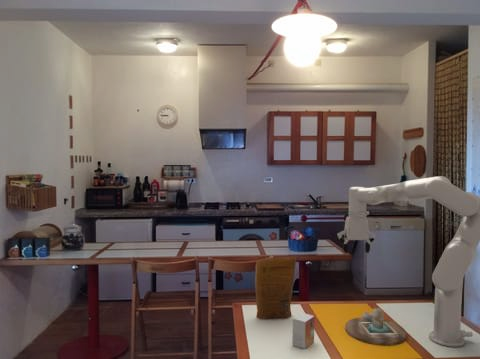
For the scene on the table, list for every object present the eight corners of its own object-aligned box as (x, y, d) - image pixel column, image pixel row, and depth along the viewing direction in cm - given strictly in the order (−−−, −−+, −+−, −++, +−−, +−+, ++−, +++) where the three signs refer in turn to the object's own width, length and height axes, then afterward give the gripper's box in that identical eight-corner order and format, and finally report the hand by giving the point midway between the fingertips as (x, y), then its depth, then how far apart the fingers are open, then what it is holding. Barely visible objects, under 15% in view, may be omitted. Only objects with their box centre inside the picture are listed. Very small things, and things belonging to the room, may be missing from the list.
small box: (304, 349, 153) (305, 322, 152) (291, 345, 156) (292, 318, 156) (314, 342, 159) (315, 315, 159) (302, 338, 163) (302, 312, 162)
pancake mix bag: (297, 319, 181) (298, 257, 180) (255, 321, 179) (256, 258, 177) (293, 313, 188) (294, 254, 187) (252, 315, 185) (253, 255, 184)
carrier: (391, 320, 181) (391, 310, 181) (416, 344, 157) (417, 333, 157) (338, 320, 180) (338, 310, 180) (355, 345, 156) (356, 334, 156)
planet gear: (383, 327, 170) (384, 306, 169) (390, 335, 162) (391, 313, 162) (365, 327, 170) (365, 306, 169) (371, 335, 162) (372, 313, 161)
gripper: (373, 213, 184) (372, 250, 185) (335, 213, 184) (334, 250, 185) (379, 215, 177) (378, 254, 178) (340, 215, 176) (339, 254, 177)
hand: (356, 252), depth 181 cm, fingers open, 9 cm apart
